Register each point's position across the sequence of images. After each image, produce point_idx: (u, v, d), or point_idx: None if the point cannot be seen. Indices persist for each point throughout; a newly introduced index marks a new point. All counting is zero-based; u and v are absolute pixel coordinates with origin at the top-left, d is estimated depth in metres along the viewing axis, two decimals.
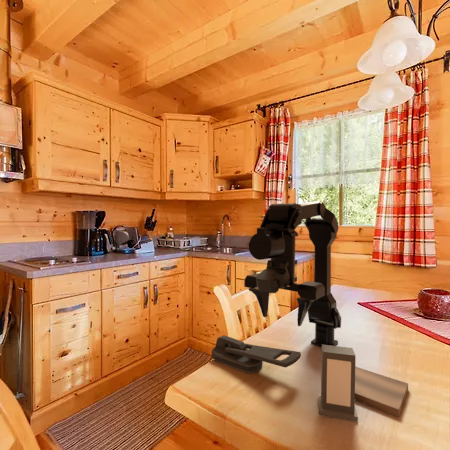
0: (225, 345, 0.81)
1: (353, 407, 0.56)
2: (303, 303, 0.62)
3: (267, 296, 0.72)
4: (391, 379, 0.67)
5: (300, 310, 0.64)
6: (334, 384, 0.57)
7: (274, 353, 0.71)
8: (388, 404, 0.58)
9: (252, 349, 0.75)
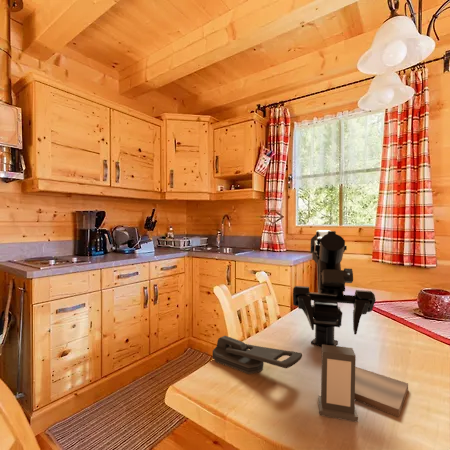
0: (226, 345, 0.80)
1: (353, 407, 0.56)
2: (362, 304, 0.66)
3: None
4: (391, 379, 0.67)
5: (357, 315, 0.66)
6: (334, 384, 0.57)
7: (274, 354, 0.70)
8: (388, 404, 0.58)
9: (253, 350, 0.75)
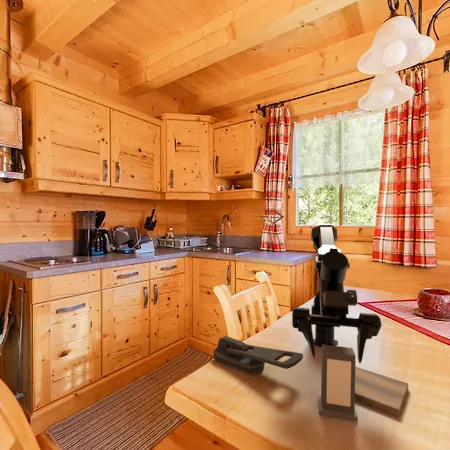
0: (227, 346, 0.80)
1: (353, 407, 0.56)
2: (367, 330, 0.61)
3: None
4: (391, 379, 0.67)
5: (362, 341, 0.61)
6: (334, 384, 0.57)
7: (275, 354, 0.70)
8: (388, 404, 0.58)
9: (254, 350, 0.74)
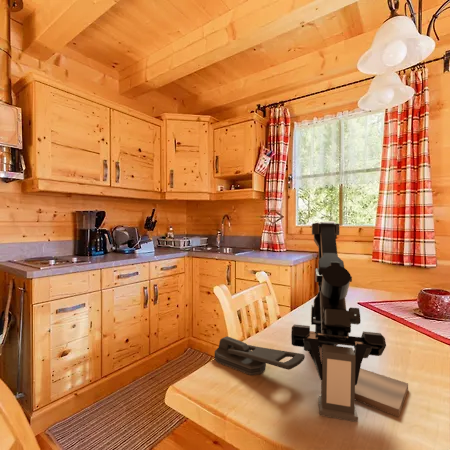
0: (228, 346, 0.80)
1: (353, 407, 0.56)
2: (363, 349, 0.58)
3: None
4: (391, 379, 0.67)
5: (358, 361, 0.58)
6: (334, 384, 0.56)
7: (277, 355, 0.70)
8: (388, 404, 0.58)
9: (255, 351, 0.74)
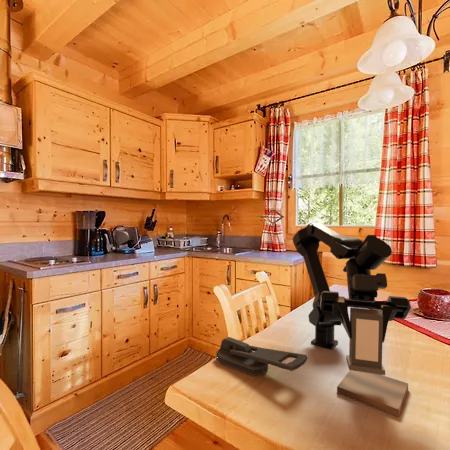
0: (230, 347, 0.79)
1: (380, 362, 0.61)
2: (390, 311, 0.63)
3: None
4: (391, 379, 0.67)
5: (384, 322, 0.63)
6: (363, 341, 0.62)
7: (279, 356, 0.69)
8: (388, 404, 0.58)
9: (257, 351, 0.74)
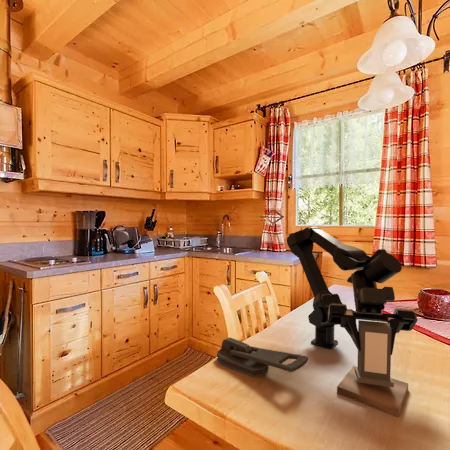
0: (231, 347, 0.79)
1: (389, 374, 0.62)
2: (397, 324, 0.65)
3: None
4: None
5: (392, 334, 0.64)
6: (372, 354, 0.63)
7: (280, 357, 0.69)
8: (388, 404, 0.58)
9: (258, 352, 0.73)
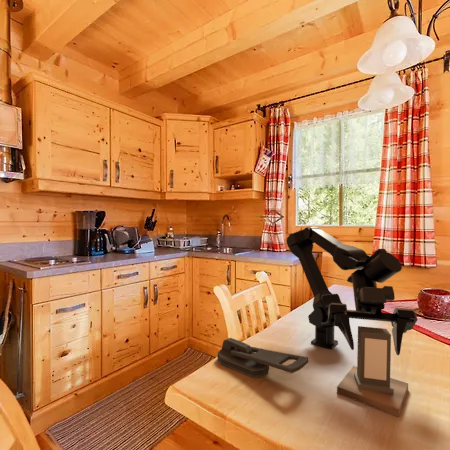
0: (231, 348, 0.79)
1: (389, 381, 0.62)
2: (404, 324, 0.64)
3: None
4: (391, 379, 0.67)
5: (399, 334, 0.64)
6: (371, 360, 0.63)
7: (280, 358, 0.68)
8: (388, 404, 0.58)
9: (258, 353, 0.73)
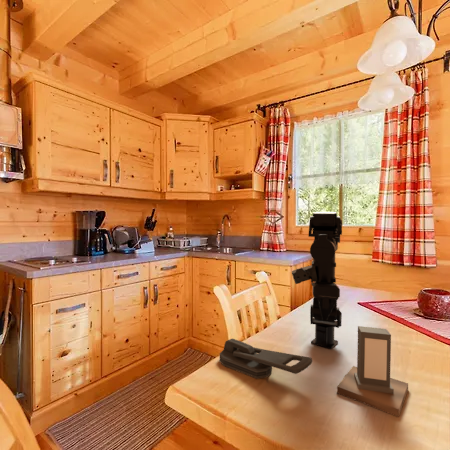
0: (233, 349, 0.78)
1: (389, 381, 0.62)
2: (315, 297, 0.72)
3: None
4: (391, 379, 0.67)
5: (319, 305, 0.73)
6: (371, 360, 0.63)
7: (283, 358, 0.68)
8: (388, 404, 0.58)
9: (261, 353, 0.73)
